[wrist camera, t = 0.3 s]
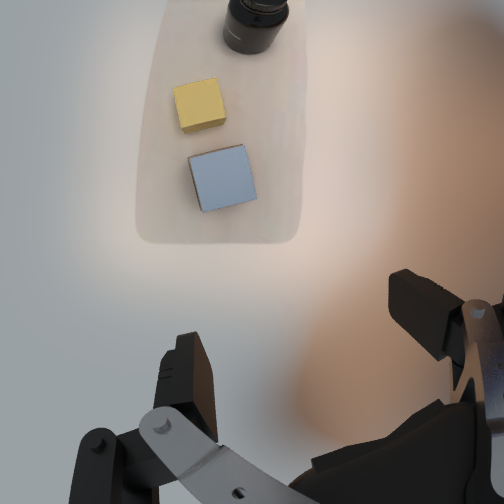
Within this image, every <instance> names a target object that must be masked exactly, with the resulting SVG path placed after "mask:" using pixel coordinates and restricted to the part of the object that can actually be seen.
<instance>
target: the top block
mask: <svg viewBox="0 0 504 504" xmlns="http://www.w3.org/2000/svg"><path fill="white" fill-rule="evenodd" d="M173 92H174V97H175V102H176V106H177V111H178V116H179V120H180V125H181V128H182V130H183V131H184V133H185V134H186V133H190V132H193V131H197V130H201V129H205V128H209V127H214V126H218V125H222V124H224V122H225V119H226V115H225V111H224V106H223V102H222V98H221V94H220V89H219V85H218V81H217V78H212V79H207V80H203V81H198V82H194V83H190V84H186V85H182V86H178V87H175V88H173Z"/></svg>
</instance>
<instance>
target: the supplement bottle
mask: <svg viewBox="0 0 504 504" xmlns="http://www.w3.org/2000/svg"><path fill="white" fill-rule="evenodd" d="M288 15H289V7H288V4H287V0H230V1H229V4H228V9H227V14H226V20H225V26H224V39H225V41H226V43H227V44H228V45H229V46H230V47H231V48H232V49H234V50H235V51H238V52H240V53H244V54H256V53H260V52H262V51H264V50H266V49H267V48H268V47H269V46H270V45H271V44H272V42H273V41H274V39H275V37H276V36H277V34H278V33H279V31H280V29H281V28H282V26H283V25H284V23H285V21H286V20H287V18H288Z"/></svg>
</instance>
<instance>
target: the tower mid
mask: <svg viewBox="0 0 504 504" xmlns="http://www.w3.org/2000/svg"><path fill="white" fill-rule="evenodd" d="M189 159H190V163H191V167H192V172H193V176H194V180H195V184H196V188H197V192H198V196H199V200H200V203H201V207H202V211H203V212H207V211H211V210H215V209H219V208H222V207H226V206H230V205H234V204H238V203H243V202H247V201H251V200H255V199H257V196H256V192H255V187H254V183H253V178H252V174H251V169H250V165H249V161H248V156H247V152H246V147H245V145H243V146H239V147H234V148H230V149H225V150H221V151H217V152H213V153H209V154H205V155H201V156H197V157H193V158H189Z"/></svg>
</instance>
